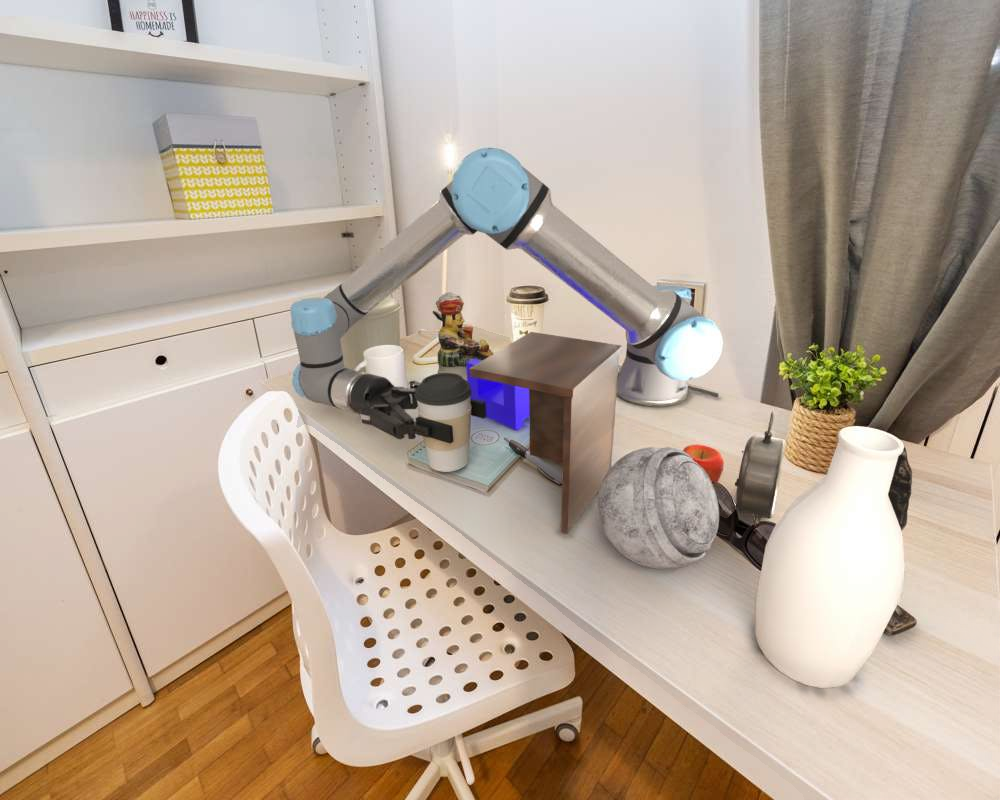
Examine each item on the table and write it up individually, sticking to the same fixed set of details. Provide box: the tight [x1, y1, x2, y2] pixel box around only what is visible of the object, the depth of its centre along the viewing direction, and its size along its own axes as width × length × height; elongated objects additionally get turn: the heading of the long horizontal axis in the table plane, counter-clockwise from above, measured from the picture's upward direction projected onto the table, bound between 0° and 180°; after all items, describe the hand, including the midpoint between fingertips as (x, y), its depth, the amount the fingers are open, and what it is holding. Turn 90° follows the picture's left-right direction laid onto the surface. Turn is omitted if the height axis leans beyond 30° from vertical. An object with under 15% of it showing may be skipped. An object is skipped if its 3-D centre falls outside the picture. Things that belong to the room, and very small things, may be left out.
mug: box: [354, 345, 408, 388], centre depth 108 cm, size 12×8×12 cm
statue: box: [884, 446, 918, 636], centre depth 53 cm, size 4×7×20 cm, turn 22°
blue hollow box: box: [466, 359, 529, 431], centre depth 107 cm, size 21×14×10 cm, turn 134°
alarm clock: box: [734, 411, 786, 525], centre depth 71 cm, size 11×5×16 cm, turn 148°
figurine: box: [432, 292, 494, 381], centre depth 119 cm, size 12×15×20 cm
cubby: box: [469, 331, 623, 535], centre depth 76 cm, size 15×18×22 cm
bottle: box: [754, 425, 906, 689], centre depth 48 cm, size 11×11×25 cm
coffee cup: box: [415, 372, 472, 473], centre depth 83 cm, size 9×9×15 cm
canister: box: [340, 296, 403, 373], centre depth 123 cm, size 18×18×21 cm
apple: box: [682, 444, 725, 484], centre depth 77 cm, size 6×6×8 cm
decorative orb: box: [597, 446, 720, 570], centre depth 64 cm, size 15×14×15 cm
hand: (468, 422), depth 81 cm, fingers closed on coffee cup, 9 cm apart
